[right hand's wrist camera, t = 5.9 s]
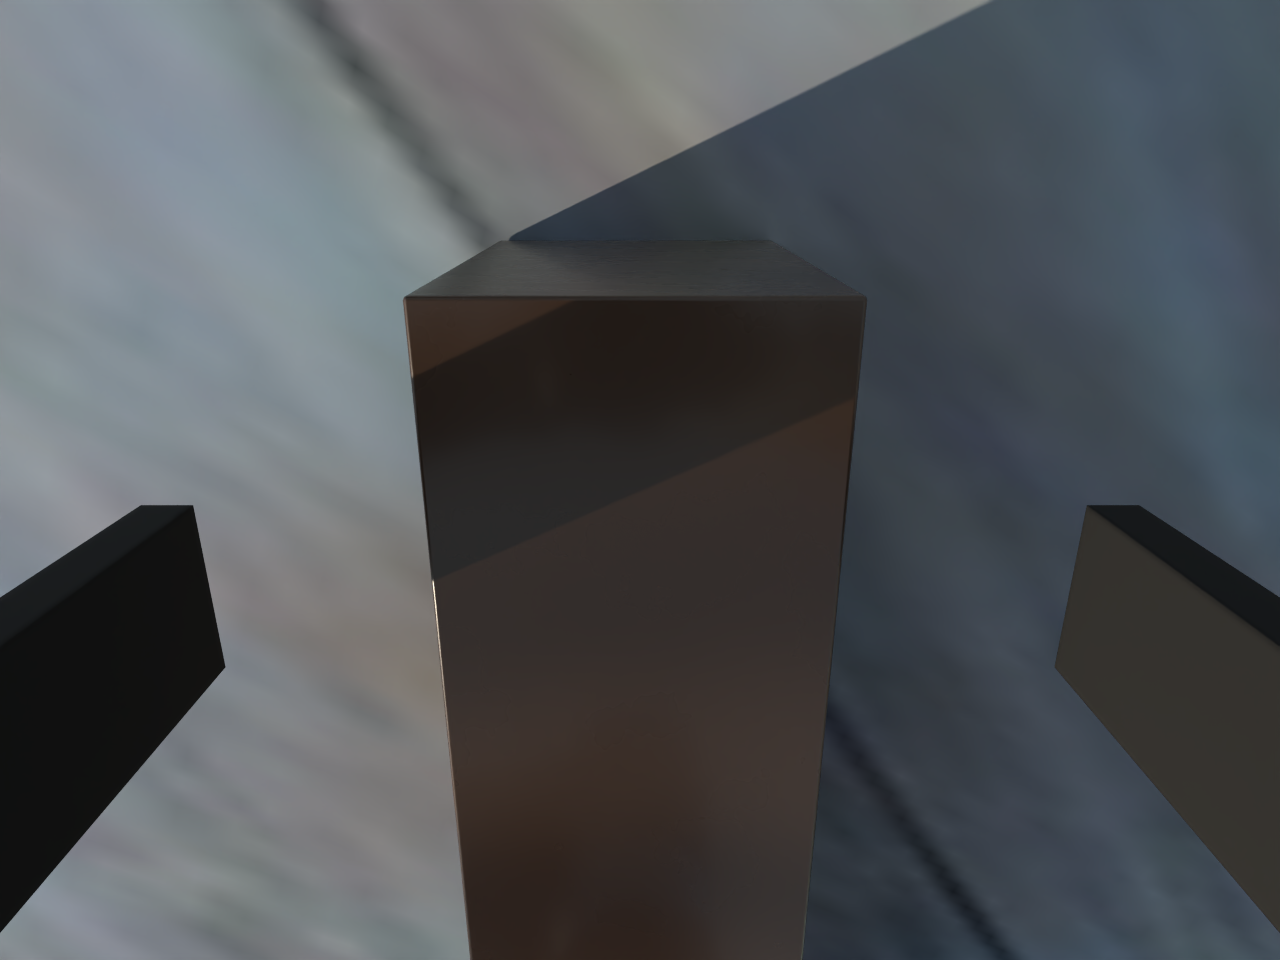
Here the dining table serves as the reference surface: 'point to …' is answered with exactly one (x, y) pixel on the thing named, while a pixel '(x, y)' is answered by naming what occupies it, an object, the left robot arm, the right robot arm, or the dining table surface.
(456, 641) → the walnut beam
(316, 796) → the dining table surface
